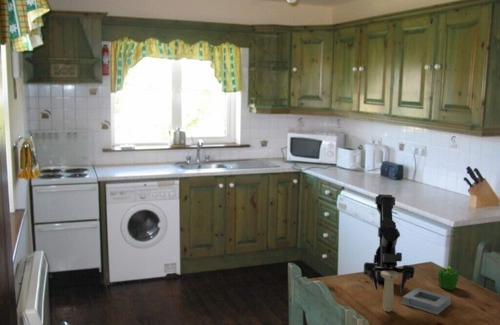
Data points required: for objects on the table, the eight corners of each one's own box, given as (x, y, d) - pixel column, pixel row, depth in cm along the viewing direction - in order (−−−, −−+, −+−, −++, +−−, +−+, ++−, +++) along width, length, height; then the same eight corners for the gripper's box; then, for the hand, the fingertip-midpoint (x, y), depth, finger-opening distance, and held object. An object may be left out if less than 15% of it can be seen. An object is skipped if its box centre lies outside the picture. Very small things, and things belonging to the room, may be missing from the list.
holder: (402, 303, 200) (402, 296, 199) (416, 294, 209) (416, 287, 209) (437, 314, 190) (437, 307, 190) (450, 304, 200) (450, 296, 200)
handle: (397, 312, 192) (400, 275, 189) (381, 313, 191) (383, 275, 189) (393, 307, 196) (395, 270, 194) (377, 307, 196) (379, 270, 194)
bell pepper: (438, 282, 222) (440, 260, 221) (458, 286, 218) (460, 264, 217) (435, 289, 215) (436, 266, 214) (455, 293, 211) (457, 270, 210)
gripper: (365, 242, 196) (364, 280, 187) (415, 245, 192) (417, 284, 183) (363, 255, 205) (363, 292, 195) (411, 259, 201) (413, 296, 192)
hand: (388, 290), depth 191 cm, fingers open, 9 cm apart
